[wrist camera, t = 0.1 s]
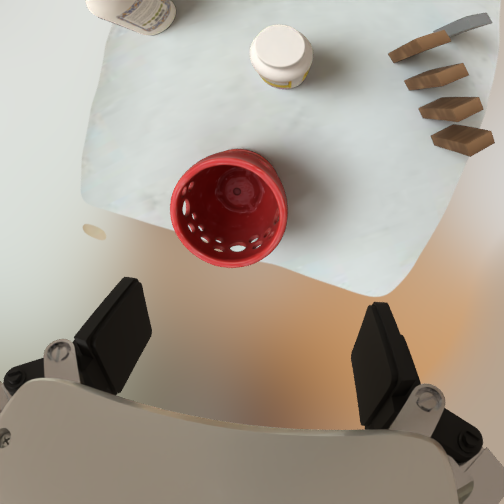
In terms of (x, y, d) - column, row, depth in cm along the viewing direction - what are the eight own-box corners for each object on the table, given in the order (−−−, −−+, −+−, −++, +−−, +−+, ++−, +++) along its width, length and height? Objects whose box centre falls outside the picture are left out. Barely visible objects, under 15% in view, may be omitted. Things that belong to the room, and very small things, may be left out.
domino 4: (430, 135, 33) (466, 144, 24) (453, 124, 31) (491, 131, 22) (434, 145, 33) (470, 156, 24) (456, 133, 31) (494, 142, 23)
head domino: (433, 31, 25) (465, 16, 16) (452, 25, 23) (486, 12, 14) (438, 40, 25) (472, 27, 16) (458, 34, 23) (492, 22, 14)
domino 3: (418, 108, 31) (452, 109, 22) (441, 97, 29) (478, 97, 21) (422, 118, 32) (458, 122, 23) (445, 107, 30) (483, 109, 21)
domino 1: (387, 53, 28) (415, 38, 19) (412, 44, 27) (444, 29, 18) (393, 63, 29) (423, 50, 20) (418, 53, 27) (451, 41, 18)
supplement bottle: (293, 39, 30) (294, 6, 18) (316, 78, 32) (330, 60, 21) (249, 59, 32) (231, 34, 20) (272, 97, 34) (265, 88, 23)
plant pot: (191, 216, 43) (161, 251, 33) (210, 134, 37) (180, 142, 27) (272, 241, 44) (265, 284, 33) (299, 160, 38) (304, 178, 27)
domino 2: (403, 80, 30) (435, 73, 21) (428, 70, 28) (463, 62, 19) (409, 90, 30) (442, 86, 21) (433, 80, 29) (469, 75, 20)
